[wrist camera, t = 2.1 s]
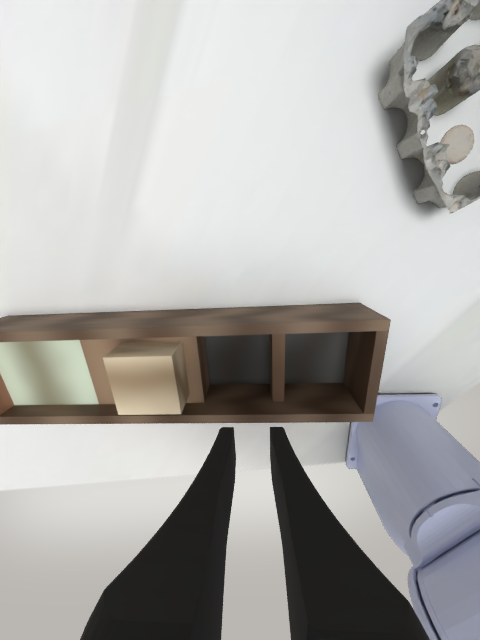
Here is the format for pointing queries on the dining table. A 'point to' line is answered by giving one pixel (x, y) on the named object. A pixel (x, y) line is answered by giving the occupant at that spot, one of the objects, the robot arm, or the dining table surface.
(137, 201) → the dining table surface
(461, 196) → the egg carton
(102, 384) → the brown wooden long box
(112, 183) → the dining table surface
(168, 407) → the beech block
